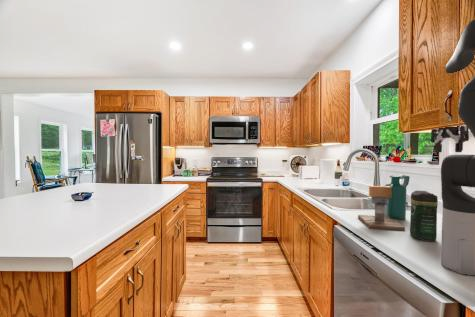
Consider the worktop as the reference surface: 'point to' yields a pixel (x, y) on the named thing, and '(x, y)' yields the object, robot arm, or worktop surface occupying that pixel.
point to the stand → (380, 220)
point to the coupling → (380, 194)
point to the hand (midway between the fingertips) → (448, 152)
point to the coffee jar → (423, 215)
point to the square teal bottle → (397, 198)
